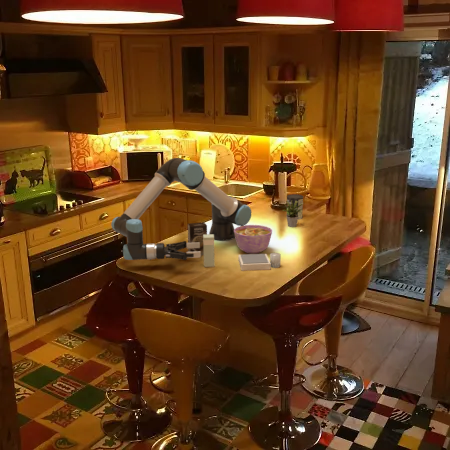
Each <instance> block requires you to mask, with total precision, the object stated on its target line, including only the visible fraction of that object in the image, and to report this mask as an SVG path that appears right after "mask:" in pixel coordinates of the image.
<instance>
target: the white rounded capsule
mask: <svg viewBox="0 0 450 450" xmlns="http://www.w3.org/2000/svg"><path fill="white" fill-rule="evenodd" d="M269 257H270V258H269V261H270V263H271V268H273V269H279V268H280V267H281V262H282V261H281V253H279V252H272V253H271V252H270V254H269Z"/></svg>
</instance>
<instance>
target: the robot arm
mask: <svg viewBox="0 0 450 450" xmlns="http://www.w3.org/2000/svg"><path fill="white" fill-rule="evenodd" d="M175 182H177V183H179V184H182V185H183V186H184V187H186V188H187V189H188V190H190V191H196V192H197V193H198V194H199V195H201V196H202V197H203V198H204V199H206V200H207V201H208V202H209V203H211V226H210V229H209V233H208V234H214V241H230V240H233V239H236V238H235V234H234V229H235V227H234V225H236V226H238V227H240V226H245V225H248V223H249V222H250V220H251V218H252V209H251V207H250V206H249V205H248V204H244V203H242V202H241V201H240V200H239V199H237V198H236V197H232V196H229V195H228V194H227V193H226V192H224V191H223V190H222V189H221V188H220V187H218V186H217V185H216V184H215V183H214V182H212V181H211V180H210V179H209V178H207V177H206V173H205V171H204V170H203V168H202V166H201V165H200V164H199V163H198V162H196V161H194V160H188V159H183V158H180V157H174V158H170V159H169V160H167V161H166V162H164V163H163V164H162V165H161V166H159V168H158V169H157V170H156V172H155V173H154V177H153V178H152V179H151V180H150V181H149V183H148V184H147V185H146V186H145V187H144V189H143V190H141V192H140V193H139V194H138V195H137V197H136V198H135V199H134V200H133V201H132V203H131V204H130V205H129V206H128V207H127V208H126V209H125V211H124V212H123V213H122V214H121V215H120V216H116V217H114V218H113V219H112V221H111V223H110V224H111V225H110V226H111V228H112V230H113V231H115V232H116V233H118V234H120V235H122V236H124V237H126V244H124V245H123V248H122V253H123V255H122V256H123V258H124V260H126V261H127V260H128V261H129V260H130V261H131V260H132V261H138V260H150V261H151V260H155V259H157V260H164V259H165V258H166V259H175V260H182V261H186V260H187V259H189V258H191V259H192V258H193V259H194V258H201V257H202V255H201V252H200V251H199V252H188V251H186V252H185V251H181V250H183V249H185V248H186V249H188V248H200V242H197V243H188V242H187V241H186V240H183V241H178V242H173V243H167V244H166V243H163V242H161V243H159V242H157V243H155V242H154V243H144V235H143V233H144V232H143V231H144V230H143V229H144V228H143V222H142V220H141V219H140V218H141V217H142V216H143V214H144V213H145V212H146V211H147V209H148V208H149V207H150V206H151V205H152V203H153V202H154V201H155V200H156V199H157V198H158V197H159V195H160V194H161V193H162V192H163V191H164V189H165V188H166V187H170V185H171V184H172V183H175ZM165 244H166V246H165Z"/></svg>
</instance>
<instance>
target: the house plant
mask: <svg viewBox="0 0 450 450" xmlns="http://www.w3.org/2000/svg"><path fill="white" fill-rule="evenodd" d="M297 202H298V201H297ZM297 202H296V201H295V204H294V206H293V203H292V200H291V203H292V204H291V207H290V204H289V203H288V202H287V200H286V204H285V203H283V205H284V206H285V207H286V209H282V211H283V212H286V213H287V212H288V213H289V215H287V214H286V222H287V227H289V228H296V227H297V225H298V221H299V219H298V216H297V214H298V213H297V212H301V210H300V209H298V208H299V207H300V206H301V204H300V205H299V206H297V207H296V205H297ZM287 204H288V206H287ZM302 204H303V205H304V202H303V203H302ZM287 208H288V210H287ZM295 208H296V209H295ZM296 213H297V214H296ZM301 213H302V214H303V211H302V212H301Z"/></svg>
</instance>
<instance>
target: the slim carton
mask: <svg viewBox="0 0 450 450" xmlns="http://www.w3.org/2000/svg"><path fill="white" fill-rule="evenodd" d="M203 247H204V255H203V267H204V268H215V265H216V264H215V240H214V234H209V233H207V235H203Z"/></svg>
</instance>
